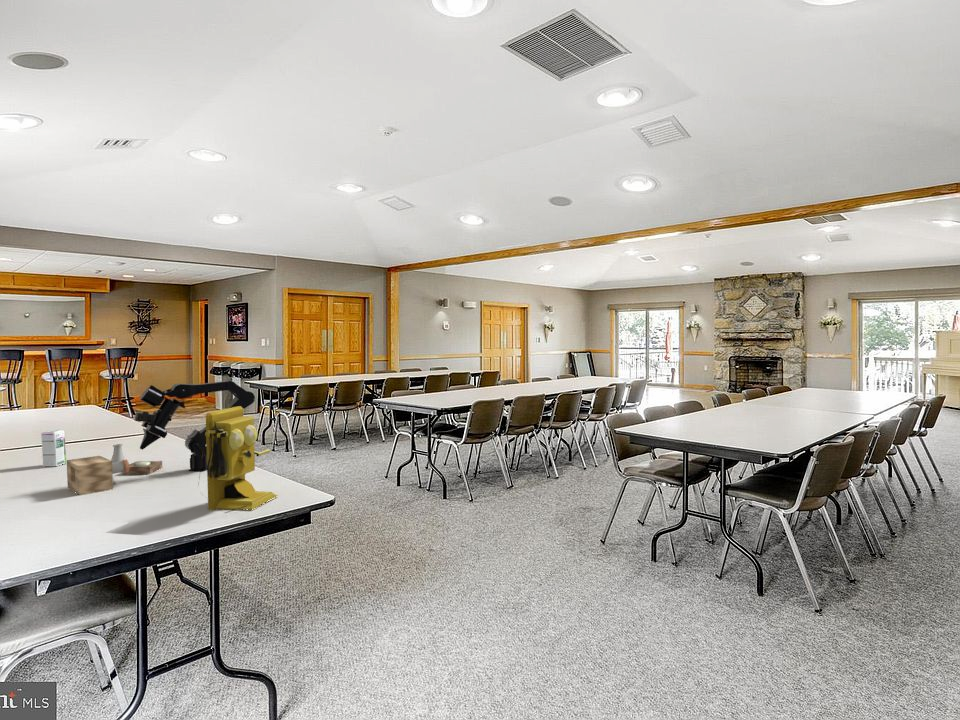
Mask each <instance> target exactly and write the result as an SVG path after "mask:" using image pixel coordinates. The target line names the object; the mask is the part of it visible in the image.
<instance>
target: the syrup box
mask: <svg viewBox="0 0 960 720" xmlns="http://www.w3.org/2000/svg"><path fill="white" fill-rule="evenodd" d="M40 434H41V435H40V436H41V449H42V450H41V452H42V466H43V468H44V467H45V466H57V467H59V465H60V466H62V464H63V465H66V464H67V455H66V453H67V452H66V437H65V436H66V435H65V430H63V429H54V430H48V431H44V432H41V433H40ZM65 463H66V464H65ZM45 468H46V467H45Z"/></svg>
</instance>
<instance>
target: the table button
mask: <svg viewBox="0 0 960 720" xmlns="http://www.w3.org/2000/svg"><path fill="white" fill-rule="evenodd" d="M149 464H150V462H138V463H136V466H141V465H149Z"/></svg>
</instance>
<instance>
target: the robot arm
mask: <svg viewBox="0 0 960 720" xmlns="http://www.w3.org/2000/svg"><path fill="white" fill-rule="evenodd" d="M223 391H227V392H229V393H230V394H231V395H232V396H234V397H233V398H232V401H231V402H230V404H229V405H228V406H227V407H226V408H225V409H228V408H233V407H237V406H241V407H242V408H243V410H244V409H246V408H248V407H249V406H251V405H252V404H253V403H254V402H256V400H255V399H256V396H255V394H254V393H253V392H252V391H249V390H246V389H244V388H242V387H241V386H240V385H239V384H237V383H235V381H233V380H228V379H227V380H223V381H215V382H214V381H213V382H204V383H198V384H197V383H196V384H195V383H175V384H173V385H172V386H171V387H170V388H169V389H165V390H161V389H158V388H157V387H156V386H154V385H152V384H150V385H149V386H148V387H147V388H146V389H145V390H144V391H143V392H142V394H141V396H140V398H139V401H141V402H143V403H145V404H147V405H149V406H151V407H153V408H155V407H156V406H157V407H158V409H157V410H155V411H153V413H149V411H145V410H144V411H142V412H140V411H136V412H135V415H134V419H133V420H134V422H140V423H141V422H142V423H141V425H140V426H141V427H143V428H142V431H143V433H144V434H143V438H142V441H141V443H140V446H139V449H140V450H144V449H146V448H147V447H148V446H150V445H152V444H153V443H155V442H156V441H158V440H159V439H161V438H162V439H166V437H167V435H168V431H167V430H166V427H167V425H169V422H171V421H172V420H173V419H172V418H173V416H174V415H175V413H176V412H177V410H178V409H179V408H182V409H185V408H186V406H185V401H184V399H187V398H191V397H194V396H196V395H199V394H207V393H208V394H209V393H215V392H223ZM170 398H171V399H170ZM178 399H179V400H178ZM180 400H181V401H180ZM205 433H206V426H204V427H203V428H202V429H200V430H198V429H197V428H196V429H194V430H193V431H192V432H191V433H189V434H188V435H186V439H185V441H184V446H185V448H186V449H187V450H189V451H190V453H191V454H190V458H189V469H188V471H189V472H190V471H192V472H193V471H194V472H195V471H196V472H200V469H201V472H204V470H205V471H207V470H206V469H207V446H206V439H205ZM204 439H205V445H204ZM203 446H204V452H203ZM202 454H203V459H202ZM201 461H202V465H201Z"/></svg>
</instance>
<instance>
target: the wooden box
mask: <svg viewBox="0 0 960 720" xmlns="http://www.w3.org/2000/svg"><path fill="white" fill-rule="evenodd" d="M66 475H67V476H66V478H67V480H66V481H67V482H66V483H67V489H68V488H69V489H68V490H70V489H71V490H72V492H73V491H74V492H73V493H75V492H76V493H77V495H78V494H79V495H78V496H81V495H82V494H84V495H88V494H87V493H89V494H94V493H93V492H95V493H100V492H105V491H104V490H106V491H110V489H111V490H114V484H113V483H114V480H113V474H112V461H111V459H108V458H106V457H104V456H101V455H95V456H93V455H92V456H87V457H82V458H81V457H80V458H74V459H66ZM71 490H70V491H71ZM99 491H100V492H99ZM76 493H75V494H76ZM82 496H83V495H82Z"/></svg>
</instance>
